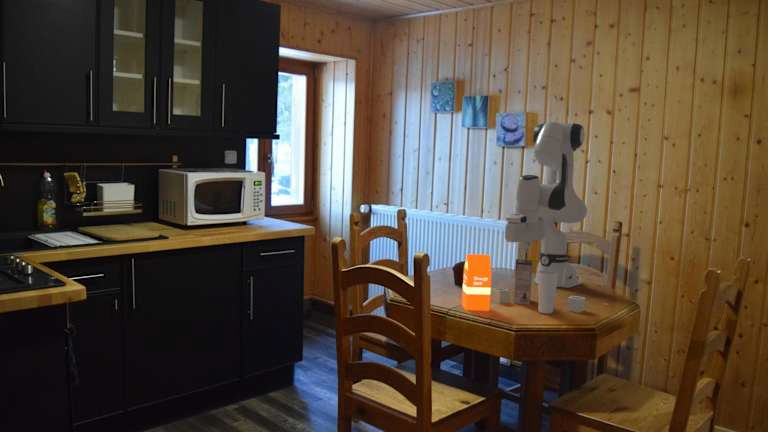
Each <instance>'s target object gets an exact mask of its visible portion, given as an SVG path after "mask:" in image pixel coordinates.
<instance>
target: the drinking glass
mask: <svg viewBox="0 0 768 432" xmlns="http://www.w3.org/2000/svg"><path fill="white" fill-rule="evenodd" d="M557 274H558V273H557V272H553V271H539V275H538V284H537V294H538V295H537V297H538V300H537V304H538V305H537V306H538V307H537V309H538V310H537V311H538V313H540V314H544V315H549V314H550V315H551V314H553V313H554V306H555V298H556V294H557V293H556V291H557V288H558V287H557Z"/></svg>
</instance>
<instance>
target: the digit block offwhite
mask: <svg viewBox="0 0 768 432" xmlns="http://www.w3.org/2000/svg"><path fill="white" fill-rule="evenodd" d="M566 303H567V305H566V311H568V312H572V311H573V312H572V313H577V312H578V314H580V312H581V313H582V311H583V312H584V310H585V311H586V297H584V296H578V295H577V296H576V295H570V296H568V297H567V302H566Z"/></svg>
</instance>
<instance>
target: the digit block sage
mask: <svg viewBox="0 0 768 432" xmlns="http://www.w3.org/2000/svg"><path fill="white" fill-rule="evenodd" d="M510 297H511V290H510V289H506V288H505V287H504V288H503V287H496V288H495V287H494V288H493V287H491V291H490V302H493V303H496V304H499V305H501V304H510V299H511V298H510Z"/></svg>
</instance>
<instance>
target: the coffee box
mask: <svg viewBox="0 0 768 432" xmlns="http://www.w3.org/2000/svg"><path fill="white" fill-rule="evenodd" d="M532 277H533V260H532V259H523V258H522V259H517V258H516V259H515V267H514V282H513V283H514V286H513V304H518V305H530V304H531V291H532V290H531V289H532Z"/></svg>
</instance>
